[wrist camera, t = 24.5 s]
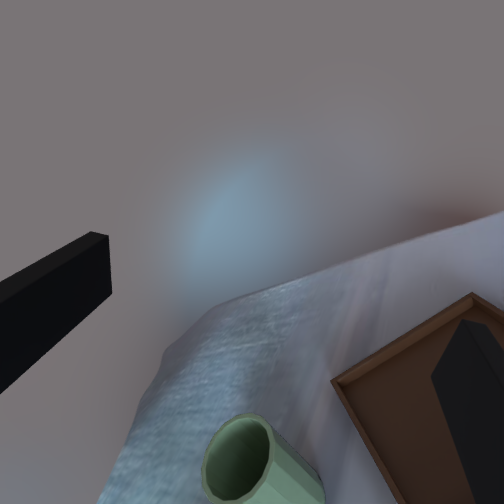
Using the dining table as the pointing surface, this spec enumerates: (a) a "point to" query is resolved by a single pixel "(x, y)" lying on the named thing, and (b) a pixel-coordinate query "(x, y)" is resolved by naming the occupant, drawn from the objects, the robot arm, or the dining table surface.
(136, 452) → the dining table surface
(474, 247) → the dining table surface
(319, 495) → the cup
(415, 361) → the tray
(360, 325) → the dining table surface
